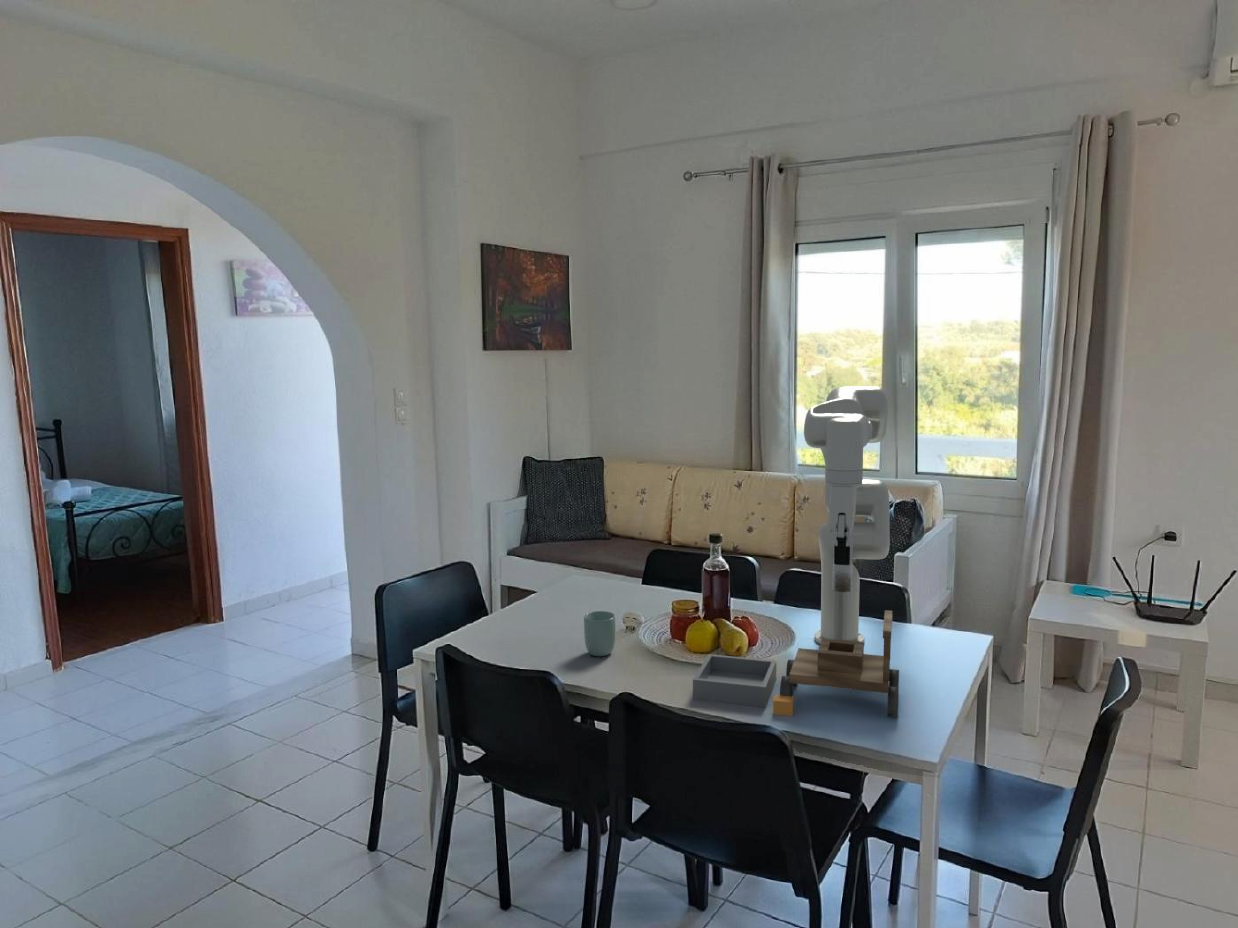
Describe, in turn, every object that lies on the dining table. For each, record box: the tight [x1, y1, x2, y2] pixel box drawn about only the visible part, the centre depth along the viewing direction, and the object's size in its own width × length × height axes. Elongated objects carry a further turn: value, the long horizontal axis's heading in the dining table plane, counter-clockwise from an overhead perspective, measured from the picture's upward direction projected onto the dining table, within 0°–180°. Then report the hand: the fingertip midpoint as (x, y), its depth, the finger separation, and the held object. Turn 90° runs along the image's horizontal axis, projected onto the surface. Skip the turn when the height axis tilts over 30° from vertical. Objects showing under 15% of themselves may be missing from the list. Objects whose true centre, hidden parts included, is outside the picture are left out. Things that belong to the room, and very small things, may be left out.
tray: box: [692, 653, 777, 708], centre depth 198 cm, size 16×16×4 cm
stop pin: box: [833, 533, 853, 592], centre depth 187 cm, size 4×4×12 cm
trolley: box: [779, 610, 900, 718], centre depth 190 cm, size 16×24×19 cm, turn 72°
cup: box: [583, 610, 617, 657], centre depth 221 cm, size 8×8×10 cm
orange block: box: [772, 694, 795, 717], centre depth 186 cm, size 3×4×3 cm
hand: (842, 560), depth 187 cm, fingers closed on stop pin, 4 cm apart
